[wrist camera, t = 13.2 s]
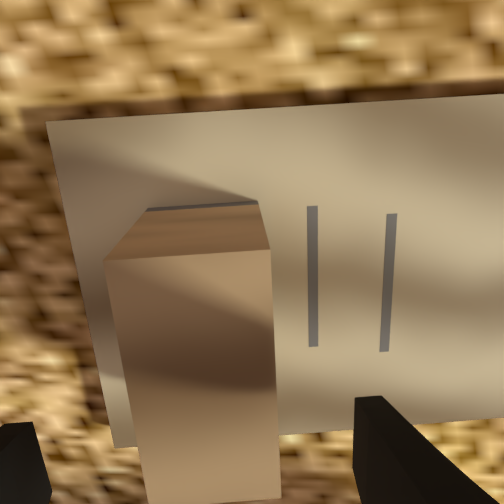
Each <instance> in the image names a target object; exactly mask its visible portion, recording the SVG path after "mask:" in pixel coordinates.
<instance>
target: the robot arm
mask: <svg viewBox="0 0 504 504" xmlns="http://www.w3.org/2000/svg"><path fill="white" fill-rule="evenodd" d="M352 468H353V472H354V476H355V480H356V484H357V488H358V492H359V496H360V499H361V503H362V504H499V503H498V502H497V501H496V500H495V499H493V498H492V497H491V496H490V495H489V494H487V493H486V492H485V491H484V490H483V489H481V488H480V487H479V486H478V485H477V484H476V483H474V482H473V481H472V480H471V479H470V478H469V477H468V476H466V475H465V474H464V473H463V472H462V471H461V470H460V469H459V468H457V467H456V466H455V465H454V464H453V463H452V462H451V461H450V460H449V459H448V458H446V457H445V456H444V455H443V454H442V453H441V452H440V451H439V450H438V449H437V448H436V447H434V446H433V445H432V444H431V443H430V442H429V441H428V440H427V439H426V438H425V437H424V436H423V435H422V434H421V433H420V432H419V431H418V430H417V429H416V428H415V427H414V426H413V425H412V424H410V423H409V422H408V421H407V420H406V419H405V418H404V417H403V416H402V415H401V414H400V413H399V412H398V411H397V410H396V409H395V408H394V407H393V406H392V405H391V404H390V403H389V402H388V401H387V400H386V399H385V398H384V397H383V396H382V395H379V396H366V397H355V400H354V434H353V467H352ZM51 494H52V488H51V485H50V481H49V478H48V474H47V471H46V467H45V464H44V460H43V457H42V453H41V450H40V446H39V443H38V439H37V436H36V432H35V429H34V425H33V422H22V423H8V424H4V425H2V426H1V427H0V504H49V501H50V498H51Z"/></svg>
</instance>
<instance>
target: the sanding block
mask: <svg viewBox="0 0 504 504" xmlns="http://www.w3.org/2000/svg"><path fill="white" fill-rule="evenodd" d="M103 266H104V271H105V276H106V282H107V287H108V292H109V298H110V303H111V308H112V314H113V319H114V324H115V329H116V335H117V340H118V345H119V351H120V356H121V361H122V366H123V372H124V377H125V382H126V388H127V393H128V398H129V403H130V409H131V414H132V419H133V425H134V430H135V435H136V440H137V446H138V451H139V456H140V462H141V467H142V472H143V478H144V483H145V488H146V493H147V499H148V504H215V503H228V502H240V501H253V500H265V499H278V498H281V476H280V453H279V431H278V408H277V386H276V363H275V341H274V318H273V296H272V273H271V251H270V246H269V242H268V238H267V234H266V230H265V227H264V223H263V219H262V215H261V211H260V207H259V203H258V201H246V202H231V203H215V204H200V205H185V206H169V207H154V208H147V210H146V211H145V212H144V213H143V214H142V215H141V217H140V218H139V219H138V220H137V221H136V222H135V224H134V225H133V226H132V227H131V228H130V229H129V231H128V232H127V233H126V234H125V235H124V236H123V238H122V239H121V240H120V241H119V242H118V243H117V245H116V246H115V247H114V248H113V249H112V250H111V252H110V253H109V254H108V255H107V256H106V257H105V259H104V260H103Z"/></svg>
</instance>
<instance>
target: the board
mask: <svg viewBox="0 0 504 504" xmlns="http://www.w3.org/2000/svg"><path fill="white" fill-rule="evenodd" d="M45 123H46V128H47V132H48V137H49V142H50V147H51V151H52V156H53V161H54V165H55V170H56V175H57V179H58V184H59V189H60V194H61V198H62V203H63V208H64V212H65V217H66V222H67V226H68V231H69V236H70V241H71V245H72V250H73V255H74V259H75V264H76V269H77V273H78V278H79V283H80V288H81V292H82V297H83V302H84V306H85V311H86V316H87V320H88V325H89V330H90V335H91V339H92V344H93V349H94V353H95V358H96V363H97V367H98V372H99V377H100V382H101V386H102V391H103V396H104V400H105V405H106V410H107V414H108V419H109V424H110V429H111V433H112V438H113V443H114V447H115V448H126V447H138V446H137V440H136V435H135V430H134V425H133V419H132V414H131V409H130V403H129V398H128V393H127V388H126V382H125V377H124V372H123V366H122V361H121V356H120V351H119V345H118V340H117V335H116V329H115V324H114V319H113V314H112V308H111V303H110V298H109V292H108V287H107V282H106V276H105V271H104V266H103V260H104V259H105V257H106V256H107V255H108V254H109V253H110V252H111V250H112V249H113V248H114V247H115V246H116V245H117V243H118V242H119V241H120V240H121V239H122V238H123V236H124V235H125V234H126V233H127V232H128V231H129V229H130V228H131V227H132V226H133V225H134V224H135V222H136V221H137V220H138V219H139V218H140V217H141V215H142V214H143V213H144V212H145V211H146V210H147V208H154V207H169V206H185V205H200V204H215V203H231V202H246V201H258V203H259V207H260V211H261V215H262V219H263V223H264V227H265V230H266V234H267V238H268V242H269V246H270V251H271V273H272V296H273V318H274V341H275V363H276V386H277V408H278V431H279V435H290V434H303V433H315V432H328V431H340V430H353V429H354V400H355V397H366V396H379V395H382V396H383V397H384V398H385V399H386V400H387V401H388V402H389V403H390V404H391V405H392V406H393V407H394V408H395V409H396V410H397V411H398V412H399V413H400V414H401V415H402V416H403V417H404V418H405V419H406V420H407V421H408V422H409V423H410V424H412V425H416V424H429V423H441V422H454V421H466V420H479V419H492V418H504V94H491V95H474V96H457V97H441V98H424V99H408V100H391V101H375V102H358V103H341V104H325V105H308V106H292V107H275V108H258V109H242V110H225V111H209V112H192V113H176V114H159V115H142V116H126V117H109V118H93V119H76V120H60V121H46V122H45Z"/></svg>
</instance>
